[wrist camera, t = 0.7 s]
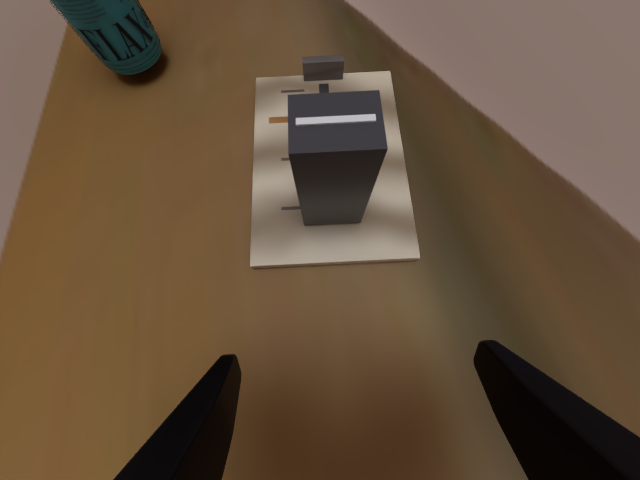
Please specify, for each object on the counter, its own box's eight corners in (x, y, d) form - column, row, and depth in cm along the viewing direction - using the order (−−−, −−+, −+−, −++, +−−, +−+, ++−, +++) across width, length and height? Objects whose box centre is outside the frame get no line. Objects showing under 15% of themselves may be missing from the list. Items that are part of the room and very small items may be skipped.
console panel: (416, 260, 22) (429, 251, 20) (253, 268, 23) (242, 260, 20) (387, 79, 28) (394, 52, 25) (258, 86, 28) (251, 59, 26)
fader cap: (360, 222, 22) (388, 147, 13) (304, 225, 22) (288, 152, 13) (357, 184, 23) (379, 88, 14) (302, 187, 23) (287, 93, 14)
